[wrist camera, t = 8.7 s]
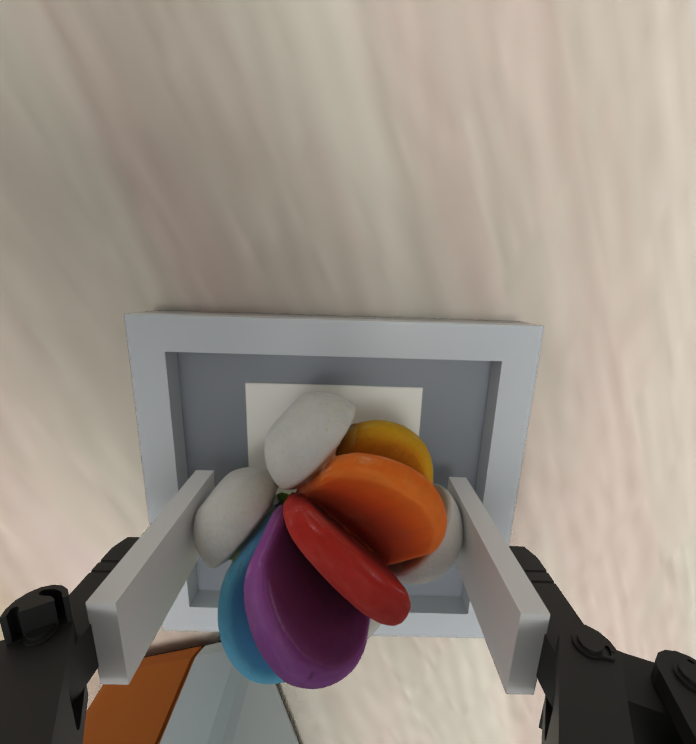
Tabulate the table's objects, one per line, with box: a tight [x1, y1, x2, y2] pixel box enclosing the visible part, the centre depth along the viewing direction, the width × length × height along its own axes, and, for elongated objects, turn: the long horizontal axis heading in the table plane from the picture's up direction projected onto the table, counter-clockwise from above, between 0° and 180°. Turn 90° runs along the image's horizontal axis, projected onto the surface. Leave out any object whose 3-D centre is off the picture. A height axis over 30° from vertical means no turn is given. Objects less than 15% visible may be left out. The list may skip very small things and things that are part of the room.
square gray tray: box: [124, 311, 544, 638], centre depth 17 cm, size 16×17×2 cm
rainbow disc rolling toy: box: [193, 392, 463, 689], centre depth 12 cm, size 8×10×7 cm
